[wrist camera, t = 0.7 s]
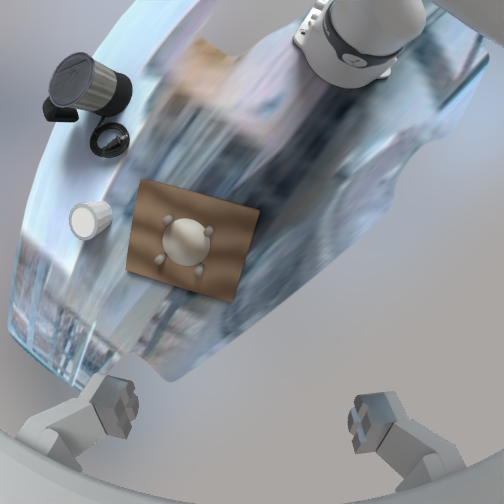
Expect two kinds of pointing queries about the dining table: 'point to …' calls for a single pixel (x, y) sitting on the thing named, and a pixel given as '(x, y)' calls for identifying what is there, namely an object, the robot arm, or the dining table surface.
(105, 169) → the dining table surface
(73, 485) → the robot arm
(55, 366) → the dining table surface
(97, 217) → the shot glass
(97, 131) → the milk frother
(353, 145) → the dining table surface
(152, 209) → the pin board
